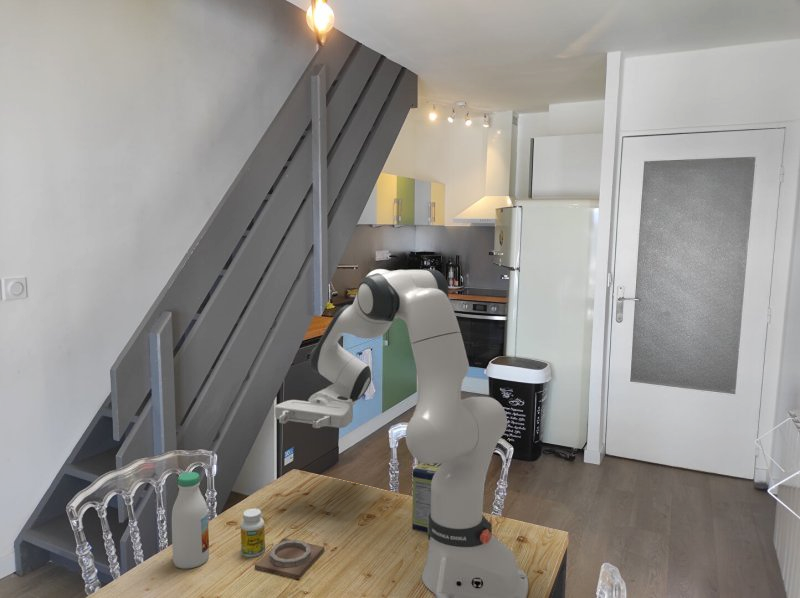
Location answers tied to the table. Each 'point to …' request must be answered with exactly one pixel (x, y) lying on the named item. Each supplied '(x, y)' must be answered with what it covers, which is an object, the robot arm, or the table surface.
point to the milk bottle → (189, 524)
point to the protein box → (422, 495)
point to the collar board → (290, 558)
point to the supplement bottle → (252, 533)
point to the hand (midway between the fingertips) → (298, 422)
